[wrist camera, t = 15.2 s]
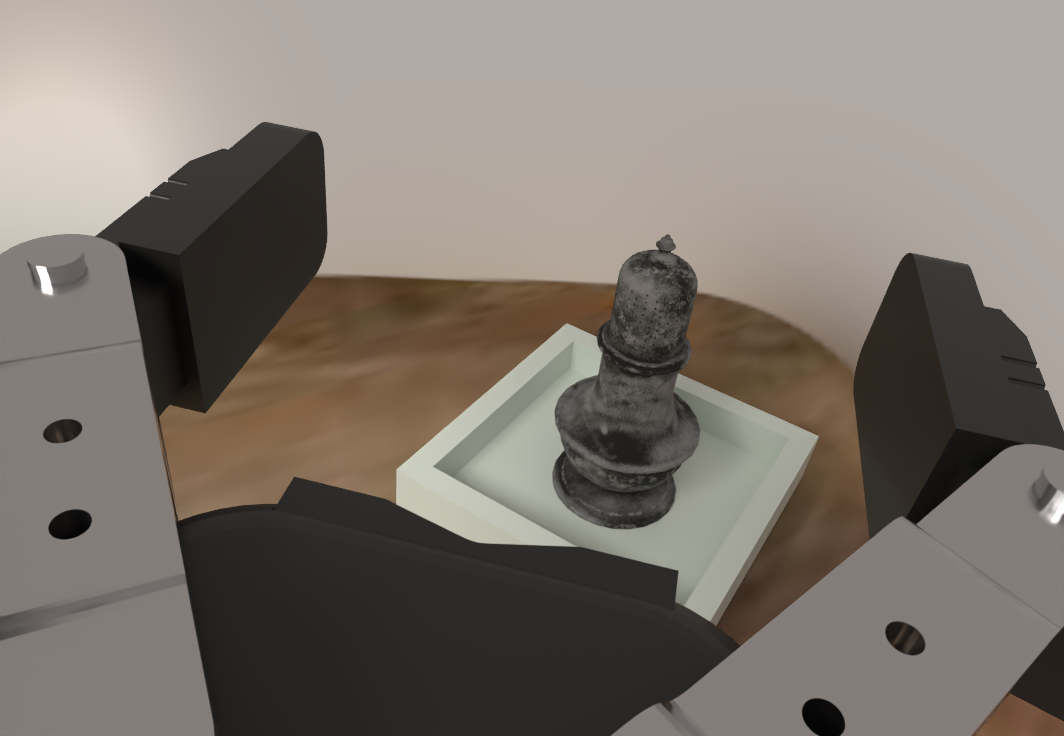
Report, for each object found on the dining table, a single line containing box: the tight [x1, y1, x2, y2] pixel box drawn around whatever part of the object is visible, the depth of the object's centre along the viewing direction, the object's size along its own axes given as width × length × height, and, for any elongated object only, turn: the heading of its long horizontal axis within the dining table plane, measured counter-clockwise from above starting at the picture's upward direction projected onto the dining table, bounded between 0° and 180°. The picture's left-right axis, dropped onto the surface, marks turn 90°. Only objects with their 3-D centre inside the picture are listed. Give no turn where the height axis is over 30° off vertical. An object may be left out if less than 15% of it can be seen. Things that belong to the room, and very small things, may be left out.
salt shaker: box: [552, 235, 700, 529], centre depth 34 cm, size 6×6×12 cm
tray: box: [396, 324, 819, 626], centre depth 37 cm, size 13×13×2 cm
